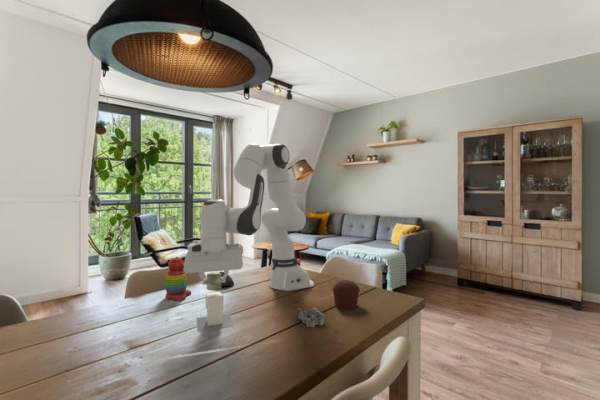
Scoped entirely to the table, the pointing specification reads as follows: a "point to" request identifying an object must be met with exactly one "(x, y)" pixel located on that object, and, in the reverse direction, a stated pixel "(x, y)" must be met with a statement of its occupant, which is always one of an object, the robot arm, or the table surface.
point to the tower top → (214, 301)
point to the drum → (213, 281)
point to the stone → (226, 280)
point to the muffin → (346, 294)
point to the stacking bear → (176, 281)
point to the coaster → (204, 326)
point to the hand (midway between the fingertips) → (214, 283)
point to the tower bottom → (214, 317)
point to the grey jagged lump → (311, 317)
